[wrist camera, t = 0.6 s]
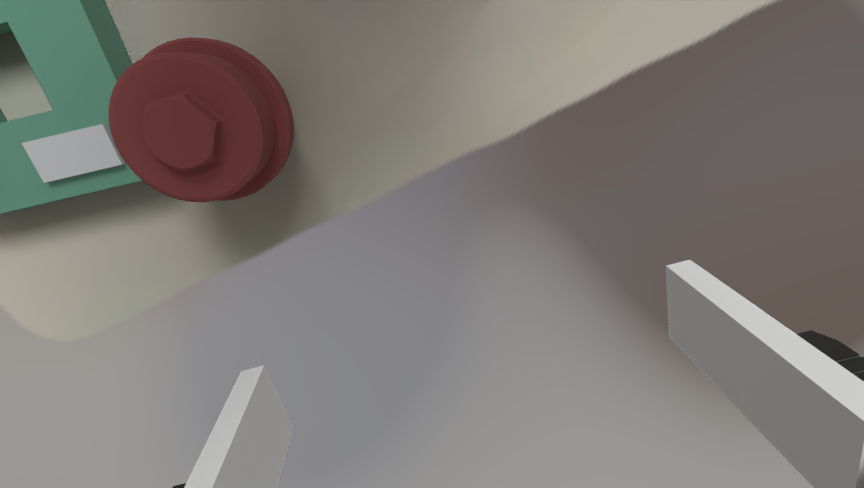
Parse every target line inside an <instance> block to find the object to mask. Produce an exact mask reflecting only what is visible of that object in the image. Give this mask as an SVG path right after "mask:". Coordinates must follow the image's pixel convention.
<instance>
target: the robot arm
mask: <svg viewBox="0 0 864 488" xmlns="http://www.w3.org/2000/svg"><path fill="white" fill-rule="evenodd" d="M666 280H667V304H668V326H669V327H668V329H669V338H670V339H671V340H672V341H673V342H674V343H675V344H676V345H677V346H678V347H679V348H680V349H681V350H682V351H683V352H684V353H685V354H686V355H687V356H688V357H689V358H690V359H691V361H693V363H694V364H695V365H696V366H697V367H698V368H699V369H700V370H701V371H702V372H703V373H704V374H705V375H706V376H707V377H708V378H709V379H710V380H711V381H712V382H713V383H714V384H715V385H716V386H717V388H719V390H720V391H721V392H722V393H724V395H725V396H726V397H727V398H728V399H729V400H730V401H731V402H732V403H733V404H734V405H735V406H736V407H737V408H738V409H739V410H740V411H741V413H742V414H744V416H745V417H746V418H747V419H748V420H749V421H750V422H751V423H752V424H753V425H754V426H755V427H756V428H757V429H758V430H759V431H760V432H761V433H762V434H763V435H764V436H765V437H766V438H767V440H769V442H771V444H772V445H773V446H774V447H775V448H776V449H777V450H778V451H779V452H780V453H781V454H782V455H783V456H784V457H785V458H786V459H787V460H788V461H789V462H790V463H791V464H792V465H793V466H794V468H795V469H796V470H797V471H798V472H799V473H800V474H801V475H802V476H803V477H804V478H805V479H806V480H807V481H808V482H809V483H810V484H811V485H812V486H813V487H814V488H864V357H860V356H859V354H858V353H856V352H855V351H853V350H852V349H850V348H848V347H847V346H846V345H844V344H842V343H841V342H839V341H838V340H835V339H832V338H830V337H827V336H825V335H822V334H819V333H816V332H814V331H807V332H803V333H800V334H795V333H794V332H792V331H791V330H789V329H788V328H787V327H785V326H784V325H782V324H781V323H779V322H778V321H777V320H775V319H774V318H772V317H771V316H769V315H768V314H767V313H765V312H764V311H762V310H761V309H759V308H758V307H757V306H755V305H754V304H752V303H751V302H749V301H748V300H747V299H745V298H744V297H742V296H741V295H739V294H738V293H736V292H735V291H734V290H732V289H731V288H730V287H728V286H727V285H725V284H724V283H722V282H721V281H719V280H718V279H717V278H715V277H714V276H712V275H711V274H709V273H708V272H707V271H705V270H704V269H702V268H701V267H700V266H698V265H697V264H695V263H694V262H692V261H691V260H687V261H683V262H679V263H675V264H671V265H667V266H666ZM293 432H294V427H293V425H292V422H291V420H290V418H289V416H288V414H287V412H286V410H285V408H284V406H283V404H282V402H281V400H280V398H279V395H278V393H277V391H276V389H275V387H274V385H273V383H272V381H271V379H270V377H269V375H268V373H267V370H266V368H265V366H260V367H256V368H252V369H248V370H243V371H241V373H240V375H239V377H238V379H237V381H236V383H235V385H234V387H233V389H232V391H231V393H230V395H229V397H228V399H227V401H226V404H225V405H224V407H223V409H222V411H221V413H220V416H219V418H218V420H217V422H216V424H215V426H214V428H213V430H212V432H211V434H210V436H209V438H208V440H207V442H206V445H205V446H204V448H203V450H202V452H201V454H200V457H199V459H198V461H197V463H196V465H195V467H194V469H193V471H192V473H191V475H190V477H189V479H188V481H187V483H185V484H181V485H177V486H174V487H173V488H278V486H279V483H280V479H281V476H282V472H283V468H284V465H285V461H286V457H287V454H288V450H289V446H290V443H291V439H292V435H293Z"/></svg>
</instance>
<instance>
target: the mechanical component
mask: <svg viewBox="0 0 864 488" xmlns="http://www.w3.org/2000/svg"><path fill="white" fill-rule="evenodd" d="M108 111H109V125H110V130H111V135H112V137H113V140H114V143H115V146H116V148H117V149H118V151H119V153H120V155H121V157H122V158H123V160H124V161H125V162H126V164H127V165H128V167H129V168H130V169H131V170H132V171H133V172H134V173H135V174H136V175H137V176H138V177H139V178H140V179H141V180H143V181H144V182H145V183H146V184H147V185H149V186H151V187H152V188H154V189H155V190H157V191H159V192H161V193H163V194H165V195H167V196H170V197H173V198H176V199H179V200H184V201H190V202H209V201H215V200H233V199H238V198H242V197H246V196H248V195H250V194H253V193H255V192H256V191H258V190H260V189H261V188H263V187H264V186H265V185H266V184H268V183H269V182H270V181H271V180H272V179H273V178H274V177H275V176H276V175H277V174H278V173H279V171H280V170H281V169H282V167H283V166H284V164H285V162H286V160H287V158H288V156H289V153H290V150H291V147H292V141H293V118H292V112H291V109H290V105H289V102H288V100H287V97H286V95H285V92H284V91H283V89H282V87H281V86H280V84H279V82H278V81H277V79H276V78H275V77H274V75H273V74H272V73H271V72H270V71H269V70H268V69H267V68H266V67H265V66H264V65H263V64H262V63H261V62H260V61H259V60H258V59H256V58H255V57H254V56H252V55H251V54H249V53H248V52H246V51H244V50H243V49H241V48H239V47H236V46H234V45H232V44H229V43H226V42H222V41H219V40H212V39H205V38H183V39H177V40H173V41H169V42H166V43H164V44H162V45H160V46H158V47H156V48H154V49H153V50H152V51H150V52H149V53H147V54H146V55H145V56H144V57H143V58H142V59H141V60H139V61H137V62H135V63H134V64H133V65H131V66H130V67H129V68H127V69H126V70H125V72H124V73H123V74H122V75H121V76H120V77H119V79H118V81H117V83H116V84H115V86H114V88H113V91H112V94H111V97H110V103H109V110H108Z"/></svg>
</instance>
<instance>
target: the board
mask: <svg viewBox="0 0 864 488" xmlns="http://www.w3.org/2000/svg"><path fill="white" fill-rule="evenodd" d="M9 32H13V34H14V36H15V38H16V40H17V41H18V43H19V45H20V47H21V49H22V51H23V53H24V55H25V57H26V59H27V61H28V63H29V64H30V66H31V68H32V70H33V72H34V74H35V76H36V78H37V80H38V82H39V84H40V86H41V87H42V89H43V91H44V93H45V95H46V97H47V99H48V101H49V103H50V105H51V107H52V109H53V111H49V112H45V113H41V114H36V115H32V116H28V117H24V118H19V119H15V120H11V121H7V120H6V118H5V117H4V115H3V113H2V111H1V110H0V214H1V213H6V212H10V211H14V210H18V209H23V208H27V207H31V206H36V205H40V204H44V203H48V202H53V201H57V200H61V199H65V198H70V197H74V196H78V195H83V194H87V193H91V192H95V191H100V190H104V189H108V188H113V187H117V186H121V185H125V184H130V183H134V182H138V181H142V180H141V179H140V178H139V177H138V176H137V175H136V174H135V173H134V172H133V171H132V170H131V169H130V168H129V167H128V165H127V164H126V162H125V161H124V160H123V158H122V157H121V155H120V153H119V151H118V149H117V148H116V146H115V143H114V140H113V137H112V135H111V130H110V125H109V111H108V110H109V103H110V97H111V94H112V91H113V88H114V86H115V84H116V83H117V81H118V79H119V77H120V76H121V75H122V74H123V73H124V72H125V70H126V69H127V68H129V67H130V66H131V65H133V64H132V62H131V60H130V58H129V55H128V53H127V51H126V49H125V46H124V44H123V42H122V40H121V37H120V35H119V33H118V30H117V28H116V26H115V24H114V21H113V19H112V17H111V15H110V12H109V10H108V8H107V5H106V3H105V1H104V0H0V35H1V34H5V33H9Z"/></svg>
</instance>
